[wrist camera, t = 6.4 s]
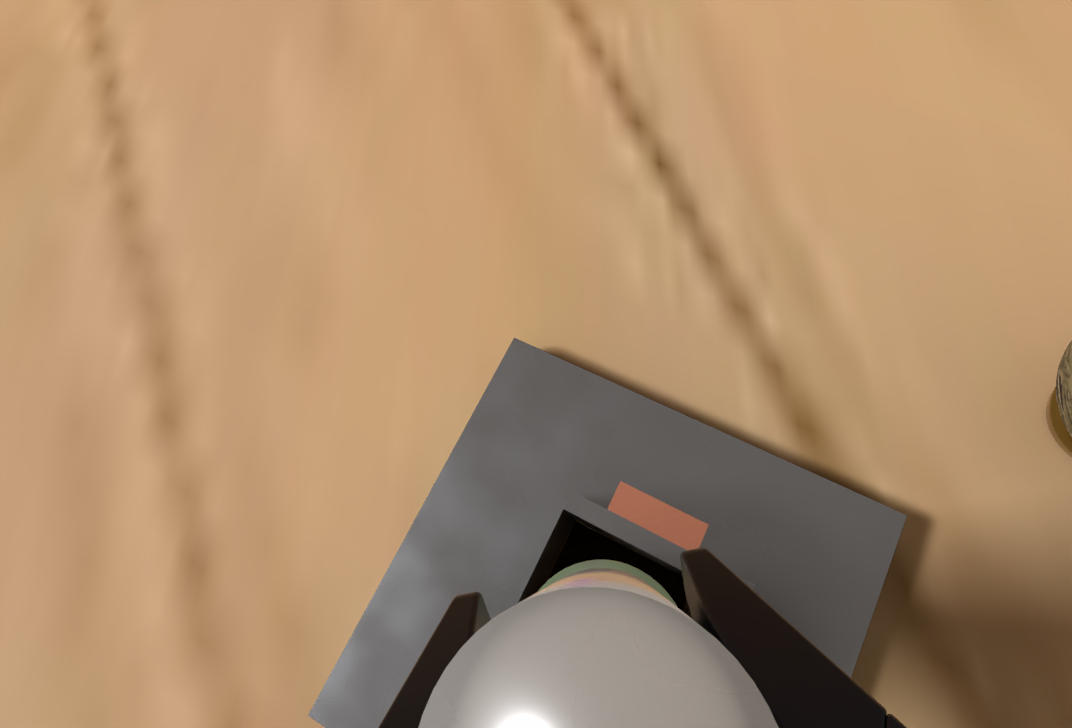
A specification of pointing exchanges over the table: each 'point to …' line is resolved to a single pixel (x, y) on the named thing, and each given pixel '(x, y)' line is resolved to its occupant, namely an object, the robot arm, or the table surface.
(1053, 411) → the cup
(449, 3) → the table surface
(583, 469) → the stand
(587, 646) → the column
